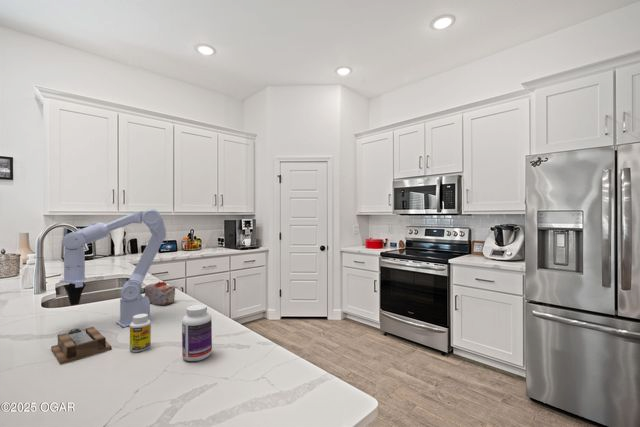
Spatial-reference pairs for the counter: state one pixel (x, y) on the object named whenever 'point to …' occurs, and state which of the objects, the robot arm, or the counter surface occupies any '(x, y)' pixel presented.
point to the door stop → (79, 336)
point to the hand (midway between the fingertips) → (74, 304)
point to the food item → (160, 293)
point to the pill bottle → (196, 333)
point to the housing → (79, 347)
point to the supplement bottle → (140, 333)
